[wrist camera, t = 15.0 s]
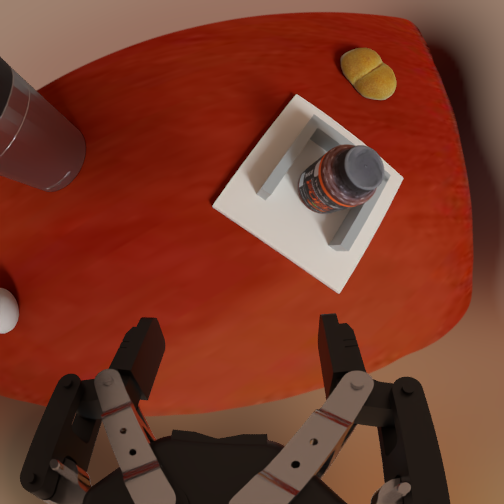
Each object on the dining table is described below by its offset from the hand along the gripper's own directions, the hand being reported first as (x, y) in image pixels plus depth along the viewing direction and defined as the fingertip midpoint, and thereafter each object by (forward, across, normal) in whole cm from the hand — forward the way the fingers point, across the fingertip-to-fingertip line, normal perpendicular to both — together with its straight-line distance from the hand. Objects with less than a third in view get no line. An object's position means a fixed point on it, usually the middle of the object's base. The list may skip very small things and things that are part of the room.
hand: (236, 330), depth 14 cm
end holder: (+24, -8, 0) cm, 25 cm away
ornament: (+11, +34, +9) cm, 37 cm away
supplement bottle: (+23, -8, 0) cm, 24 cm away
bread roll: (+34, -17, -15) cm, 41 cm away
